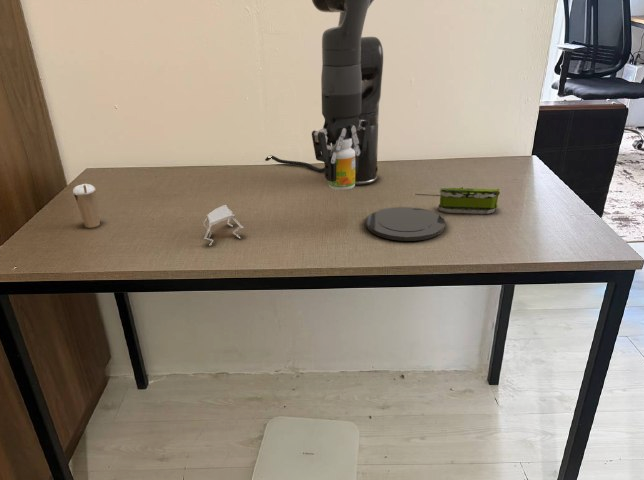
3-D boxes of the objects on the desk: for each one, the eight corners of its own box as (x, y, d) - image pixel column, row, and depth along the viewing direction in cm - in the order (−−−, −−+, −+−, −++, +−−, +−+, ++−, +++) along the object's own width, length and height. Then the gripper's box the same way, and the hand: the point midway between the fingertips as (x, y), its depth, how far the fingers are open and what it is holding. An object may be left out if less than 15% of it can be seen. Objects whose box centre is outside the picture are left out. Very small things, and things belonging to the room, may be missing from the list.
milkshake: (84, 232, 122) (72, 187, 117) (80, 223, 126) (69, 180, 121) (105, 227, 124) (95, 183, 119) (101, 219, 128) (91, 176, 123)
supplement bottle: (324, 189, 115) (324, 140, 110) (333, 180, 119) (333, 134, 114) (350, 191, 113) (350, 142, 108) (358, 183, 117) (358, 135, 112)
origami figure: (244, 244, 114) (242, 221, 111) (202, 247, 113) (199, 224, 111) (245, 221, 124) (243, 200, 121) (207, 224, 124) (204, 202, 121)
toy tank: (502, 195, 117) (499, 171, 124) (409, 192, 121) (412, 169, 128) (497, 224, 122) (495, 198, 129) (408, 220, 126) (410, 196, 133)
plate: (369, 243, 112) (369, 237, 112) (363, 213, 126) (364, 207, 125) (451, 241, 112) (452, 235, 111) (436, 211, 125) (437, 205, 125)
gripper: (353, 81, 113) (353, 165, 122) (299, 93, 105) (302, 181, 114) (382, 86, 108) (379, 172, 117) (327, 98, 100) (328, 190, 109)
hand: (341, 176), depth 115 cm, fingers closed on supplement bottle, 5 cm apart
